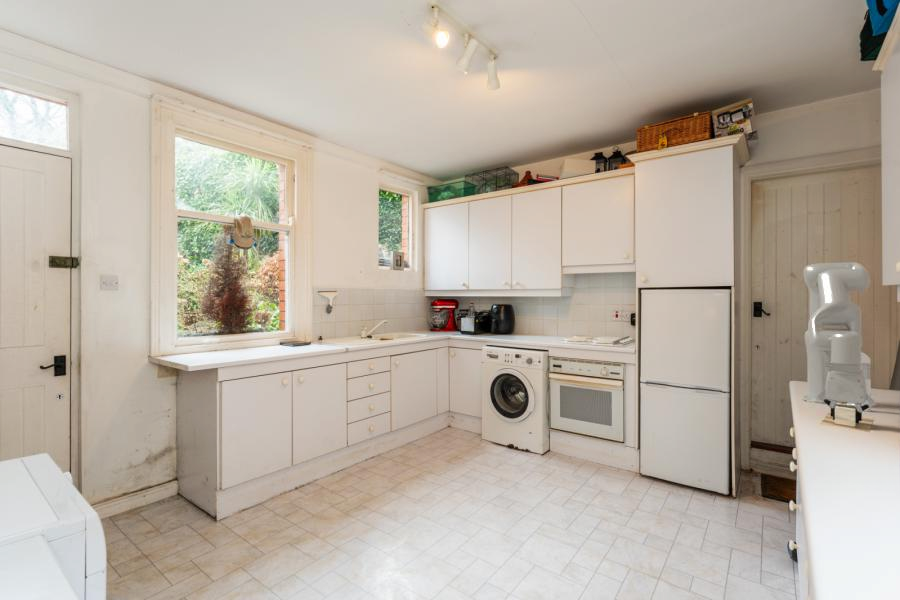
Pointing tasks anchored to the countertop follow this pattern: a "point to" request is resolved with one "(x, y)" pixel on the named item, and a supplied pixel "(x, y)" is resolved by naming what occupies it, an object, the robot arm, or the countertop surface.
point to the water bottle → (866, 371)
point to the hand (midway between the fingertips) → (845, 420)
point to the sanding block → (845, 415)
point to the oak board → (862, 426)
